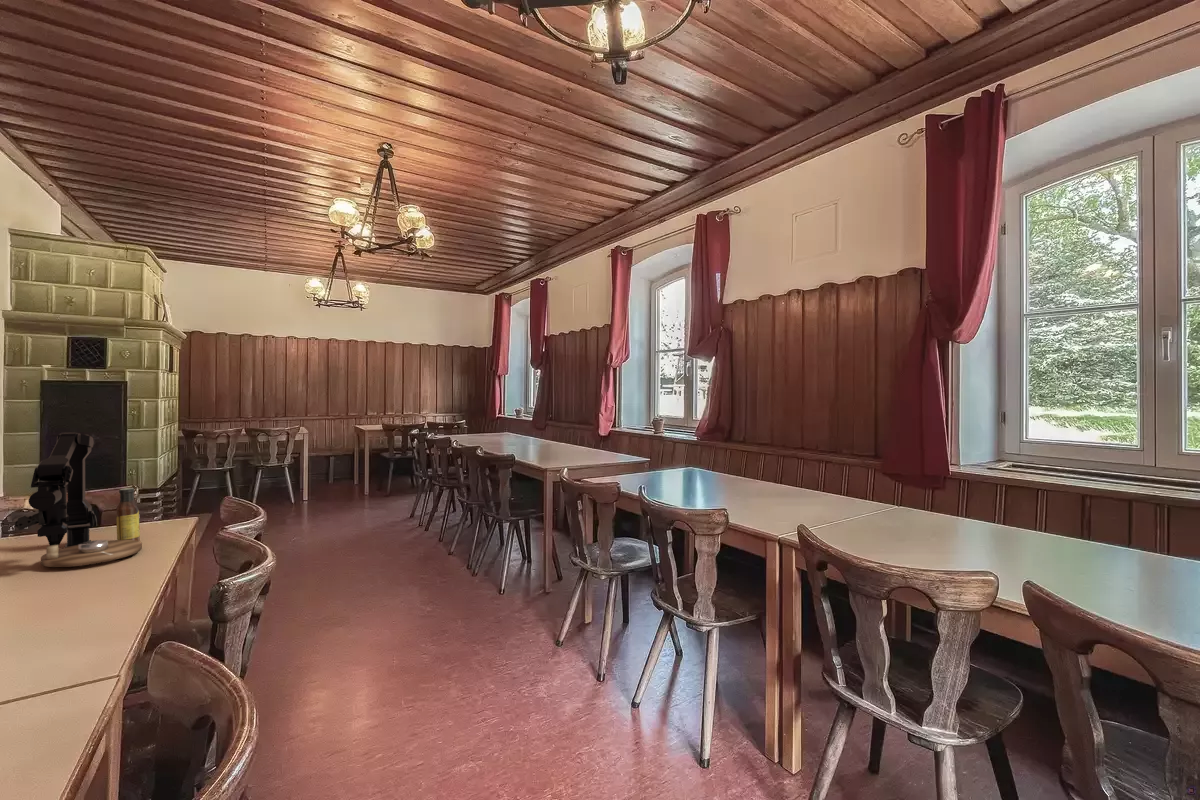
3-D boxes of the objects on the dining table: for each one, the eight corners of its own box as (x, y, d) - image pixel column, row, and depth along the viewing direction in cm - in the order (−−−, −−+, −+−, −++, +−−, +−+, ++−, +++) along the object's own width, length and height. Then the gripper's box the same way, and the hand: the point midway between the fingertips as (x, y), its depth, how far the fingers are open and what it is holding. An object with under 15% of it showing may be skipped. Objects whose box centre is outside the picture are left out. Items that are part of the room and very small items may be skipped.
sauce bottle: (144, 540, 194) (144, 487, 193) (127, 545, 187) (127, 490, 187) (128, 539, 194) (128, 486, 194) (111, 544, 188) (111, 489, 188)
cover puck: (74, 551, 170) (74, 544, 170) (101, 546, 177) (101, 538, 177) (85, 554, 167) (85, 547, 167) (112, 548, 174) (112, 541, 174)
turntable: (25, 560, 166) (25, 542, 166) (119, 540, 188) (119, 525, 188) (62, 571, 156) (62, 553, 156) (157, 550, 178) (157, 533, 178)
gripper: (18, 500, 166) (19, 548, 166) (12, 512, 152) (12, 565, 153) (68, 495, 173) (68, 541, 174) (66, 506, 160) (66, 556, 161)
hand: (54, 551), depth 165 cm, fingers closed
